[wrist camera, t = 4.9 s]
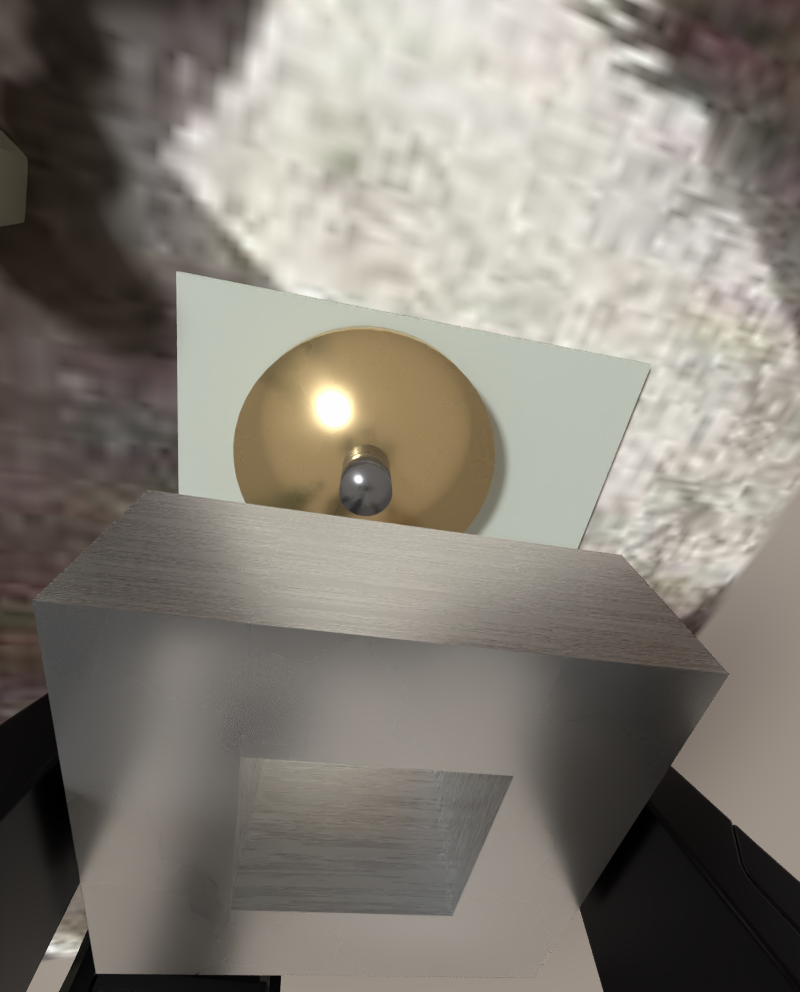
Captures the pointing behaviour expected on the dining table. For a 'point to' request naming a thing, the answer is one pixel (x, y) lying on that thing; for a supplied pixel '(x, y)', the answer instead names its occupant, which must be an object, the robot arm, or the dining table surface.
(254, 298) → the mat
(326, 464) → the bell
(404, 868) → the square ring
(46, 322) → the dining table surface
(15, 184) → the valve
